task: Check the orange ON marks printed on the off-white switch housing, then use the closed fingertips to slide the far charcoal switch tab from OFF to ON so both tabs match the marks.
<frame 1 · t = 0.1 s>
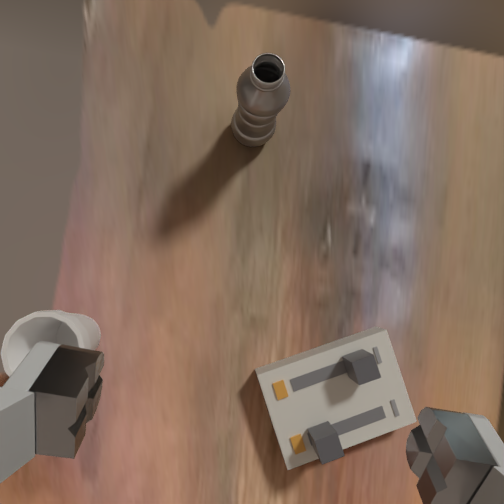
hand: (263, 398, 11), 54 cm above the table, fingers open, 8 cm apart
switch housing: (330, 391, 65), on the table
plastic bottle: (252, 130, 67), on the table
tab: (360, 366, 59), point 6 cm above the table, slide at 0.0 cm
foam cup: (79, 335, 63), on the table
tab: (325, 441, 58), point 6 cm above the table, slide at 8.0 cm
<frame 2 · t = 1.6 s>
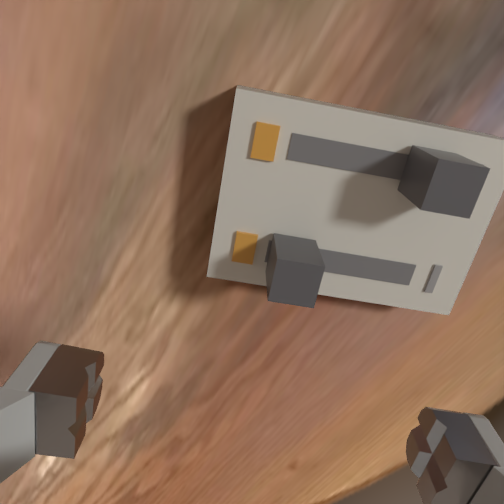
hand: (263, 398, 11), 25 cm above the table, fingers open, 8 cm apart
switch housing: (343, 198, 35), on the table
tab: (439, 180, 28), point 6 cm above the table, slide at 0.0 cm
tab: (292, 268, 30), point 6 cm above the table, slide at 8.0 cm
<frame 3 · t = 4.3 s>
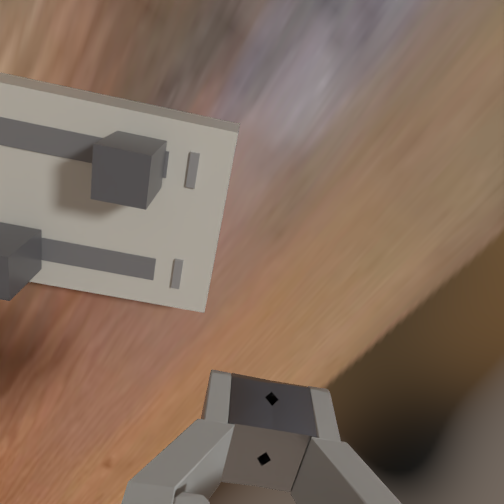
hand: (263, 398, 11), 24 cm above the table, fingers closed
switch housing: (97, 187, 33), on the table
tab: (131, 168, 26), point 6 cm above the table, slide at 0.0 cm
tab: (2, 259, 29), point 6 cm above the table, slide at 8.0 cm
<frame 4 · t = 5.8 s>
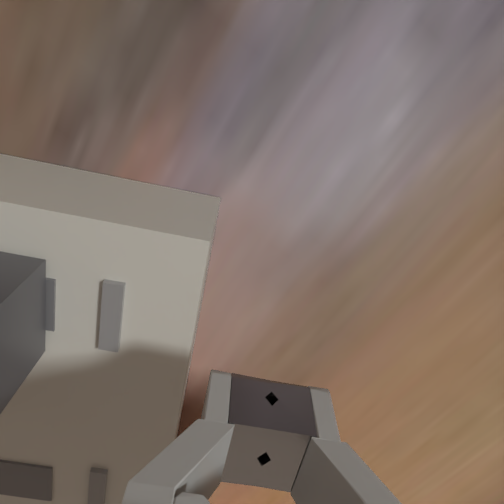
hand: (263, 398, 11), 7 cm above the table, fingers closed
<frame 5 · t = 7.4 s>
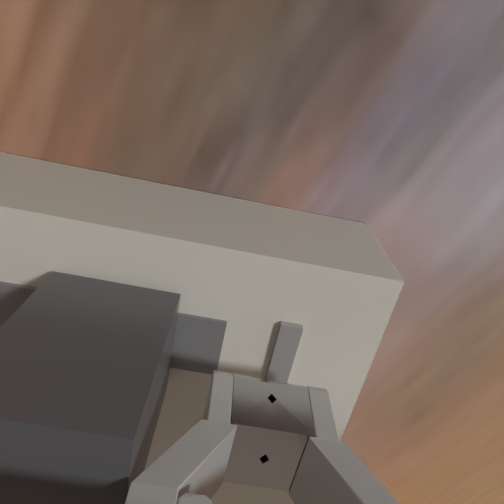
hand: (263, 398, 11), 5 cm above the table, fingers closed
switch housing: (66, 339, 17), on the table
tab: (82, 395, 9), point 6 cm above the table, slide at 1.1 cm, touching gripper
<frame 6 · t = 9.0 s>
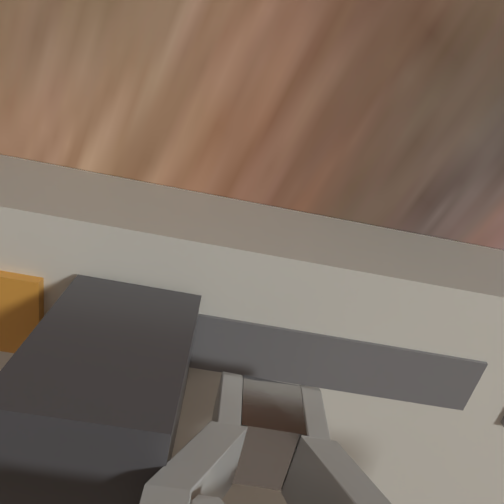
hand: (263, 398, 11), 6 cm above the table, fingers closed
switch housing: (254, 369, 17), on the table
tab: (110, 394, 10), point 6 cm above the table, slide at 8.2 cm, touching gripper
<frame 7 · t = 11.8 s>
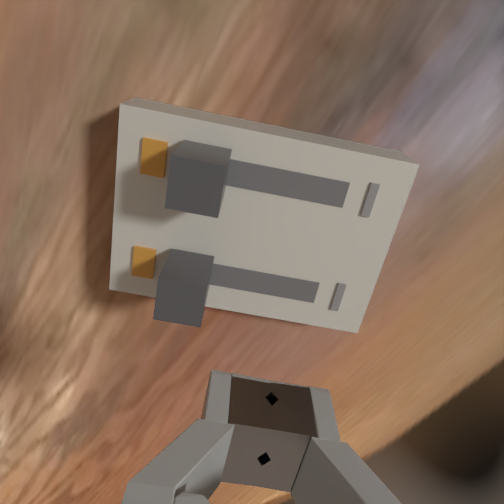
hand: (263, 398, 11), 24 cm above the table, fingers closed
switch housing: (253, 212, 34), on the table
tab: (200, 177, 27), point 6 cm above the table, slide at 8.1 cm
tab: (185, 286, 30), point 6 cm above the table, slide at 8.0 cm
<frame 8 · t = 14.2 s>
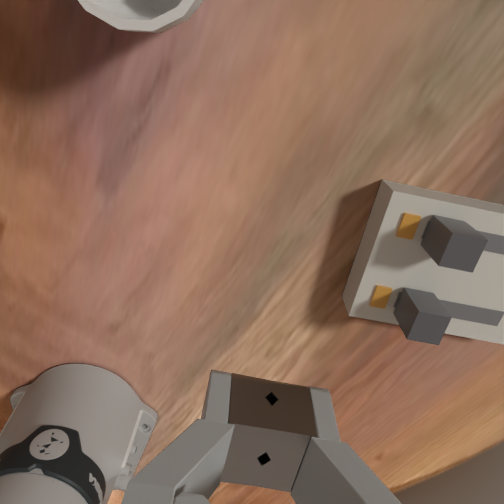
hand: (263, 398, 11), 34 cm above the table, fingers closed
switch housing: (448, 258, 47), on the table
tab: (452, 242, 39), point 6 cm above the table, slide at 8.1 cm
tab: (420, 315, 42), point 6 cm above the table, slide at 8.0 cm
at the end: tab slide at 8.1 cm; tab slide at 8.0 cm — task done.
